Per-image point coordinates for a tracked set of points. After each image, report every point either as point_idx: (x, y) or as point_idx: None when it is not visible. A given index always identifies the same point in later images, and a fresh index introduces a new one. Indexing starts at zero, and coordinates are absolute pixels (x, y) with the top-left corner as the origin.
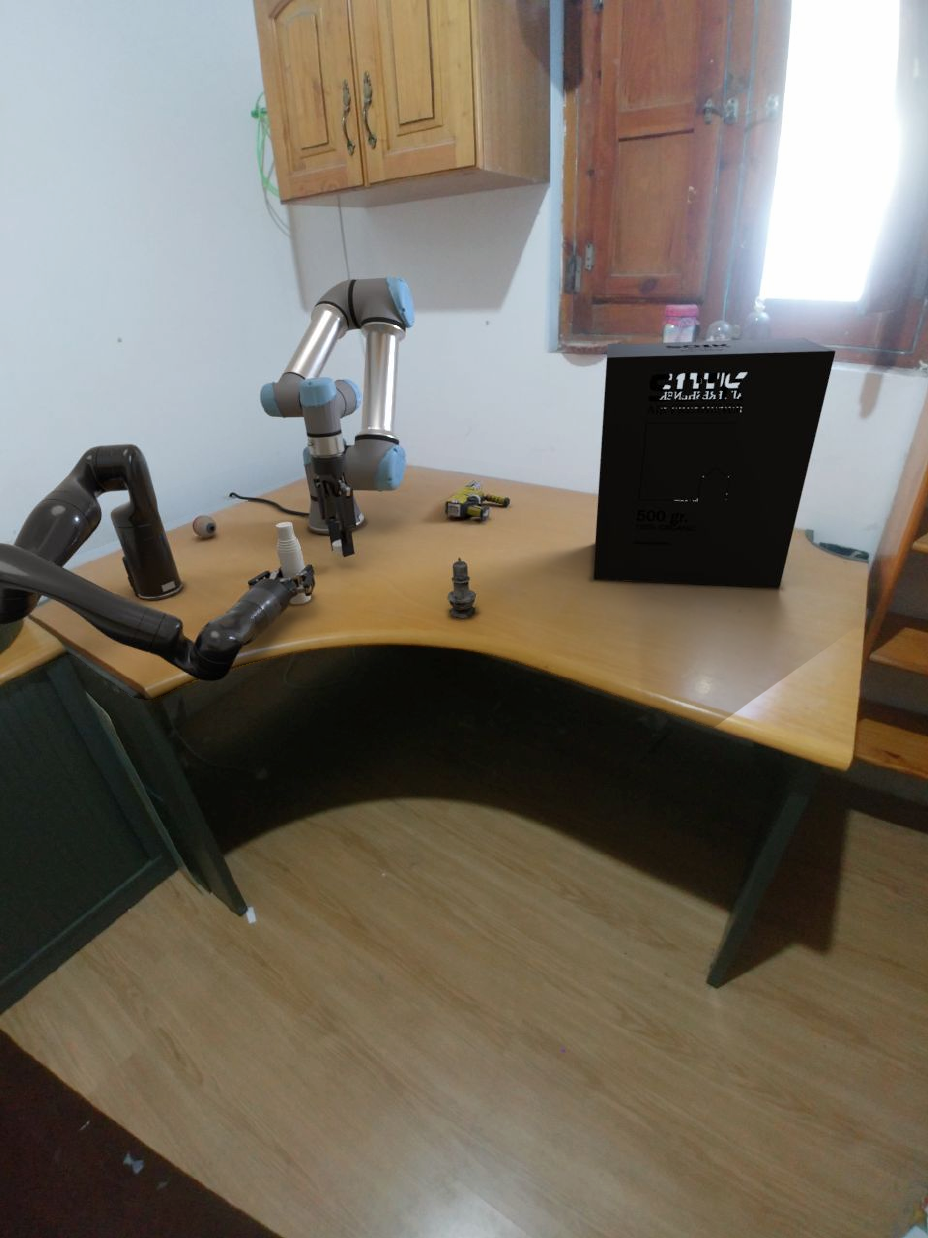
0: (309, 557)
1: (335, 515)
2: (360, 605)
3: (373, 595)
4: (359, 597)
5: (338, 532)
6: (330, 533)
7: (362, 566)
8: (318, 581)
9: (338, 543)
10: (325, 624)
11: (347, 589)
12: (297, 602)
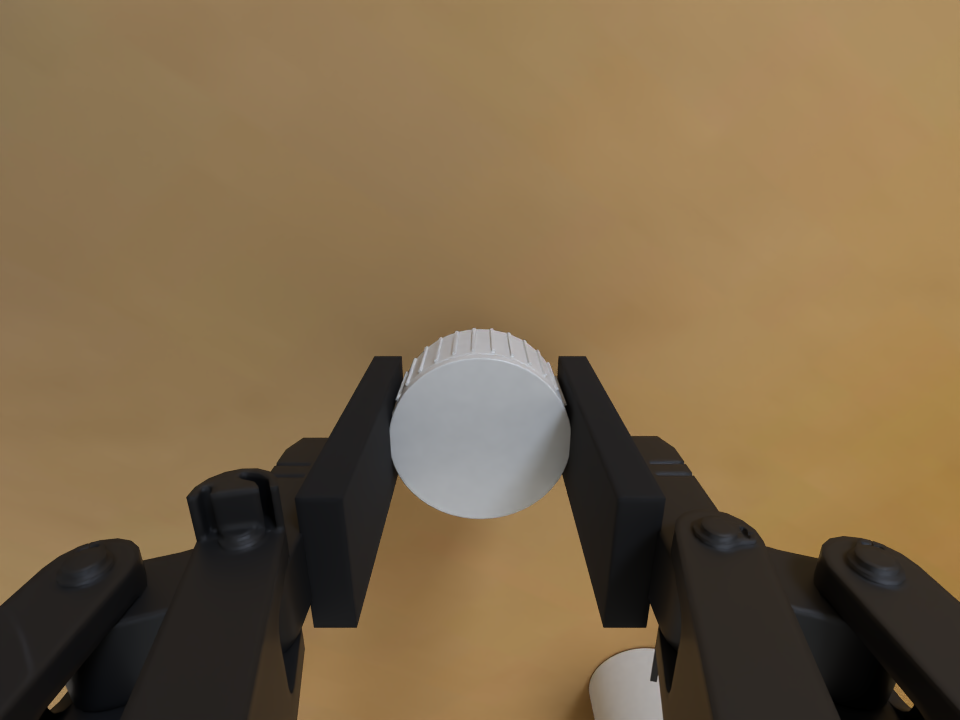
0: (179, 444)
1: (273, 612)
2: (955, 552)
3: (949, 458)
4: (890, 514)
5: (373, 455)
6: (374, 550)
7: (583, 283)
8: (543, 558)
9: (469, 468)
10: None
11: (761, 509)
12: None
